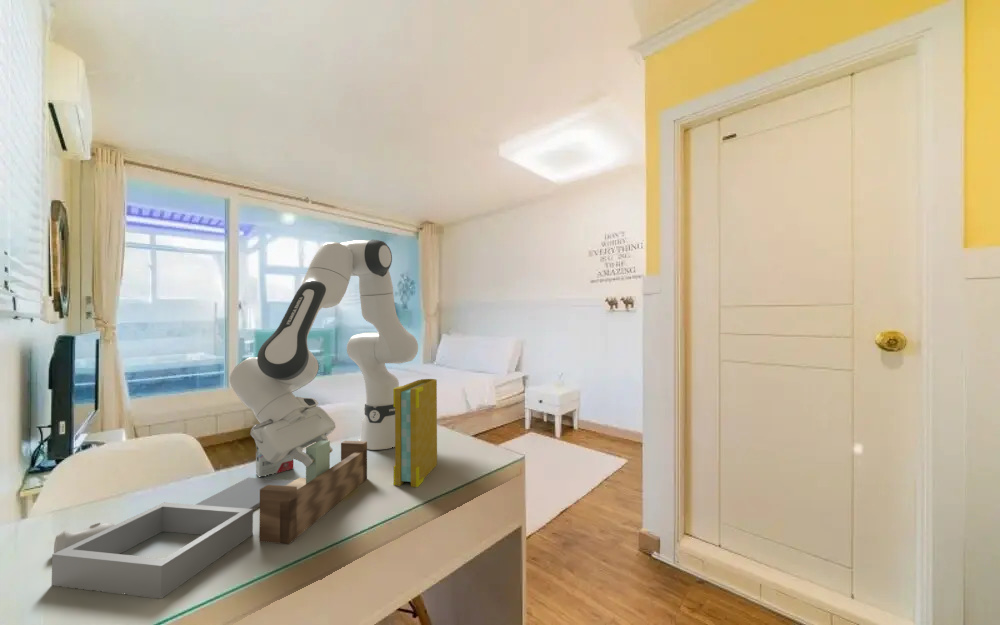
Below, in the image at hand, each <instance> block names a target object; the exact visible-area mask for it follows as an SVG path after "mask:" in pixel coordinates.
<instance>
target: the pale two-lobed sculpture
mask: <svg viewBox="0 0 1000 625" xmlns="http://www.w3.org/2000/svg"><path fill="white" fill-rule="evenodd" d="M115 525H116V524H115V523H113V522H105V523H101V522H97V523H94V524H91V525H89V526H88V527H86V528H84V529H82V530H81V531H77V532H70V531H66V530H63V531H62V532H60V533H59V534H58V535H56V537H55V539H54V545H53V554H54V553H56V552H58V551H61V550H63V549H65V548H67V547H69V546H71V545H74V544H76V543H78V542H80V541H82V540H84V539H87V538H89V537H91V536H93V535H95V534H97V533H99V532H102V531H104V530H106V529H108V528H110V527H112V526H115Z"/></svg>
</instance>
